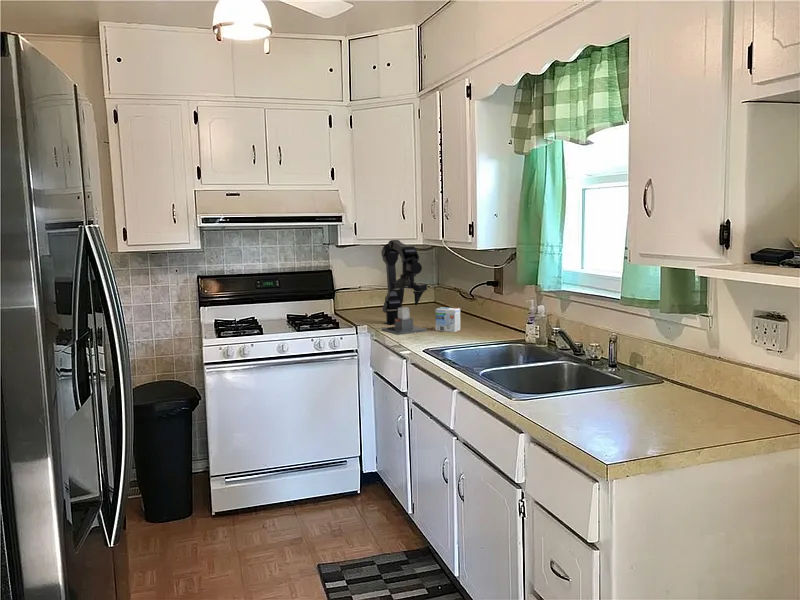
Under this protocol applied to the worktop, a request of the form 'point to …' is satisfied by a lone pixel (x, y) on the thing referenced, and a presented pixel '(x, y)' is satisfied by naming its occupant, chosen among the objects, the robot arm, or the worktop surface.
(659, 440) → the worktop surface
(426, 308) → the worktop surface
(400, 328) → the stand
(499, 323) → the worktop surface
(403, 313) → the column
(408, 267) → the robot arm
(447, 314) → the light bulb box
